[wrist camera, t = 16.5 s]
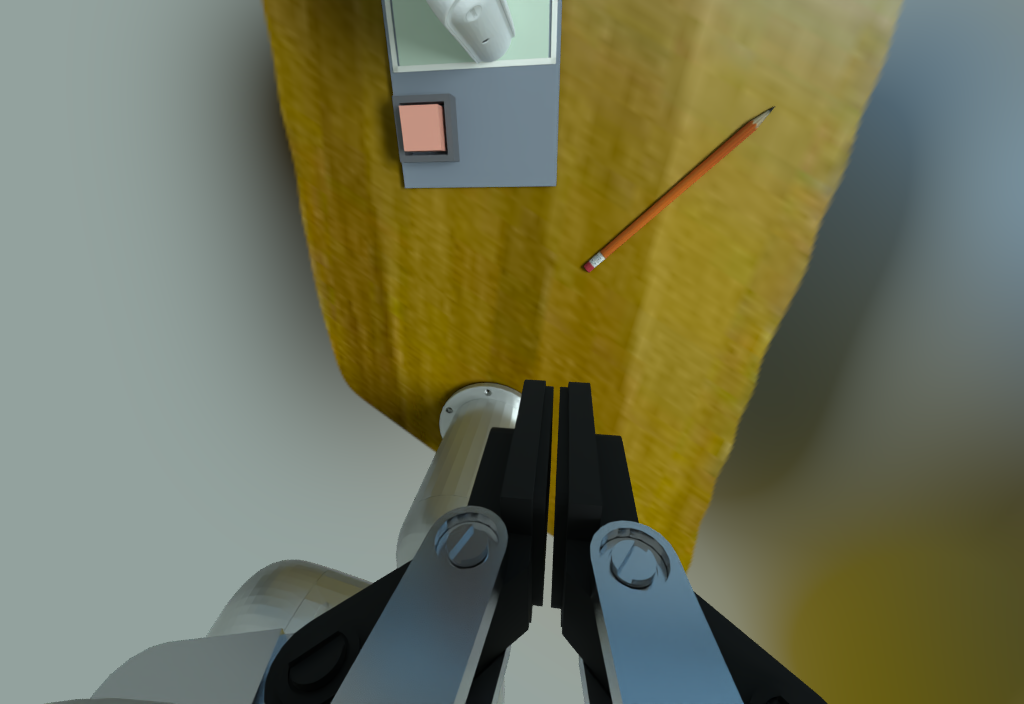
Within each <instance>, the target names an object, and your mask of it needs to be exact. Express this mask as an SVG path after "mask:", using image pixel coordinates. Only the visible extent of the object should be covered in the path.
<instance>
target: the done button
mask: <svg viewBox="0 0 1024 704" xmlns="http://www.w3.org/2000/svg"><path fill="white" fill-rule="evenodd" d="M399 111H400V119H401V128H402V136H403V144H404V151H407V152H446V151H448V148H447V135H446V122H445V110H444V107H442V106H440V105H438V104H429V105H406V106H399Z"/></svg>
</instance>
